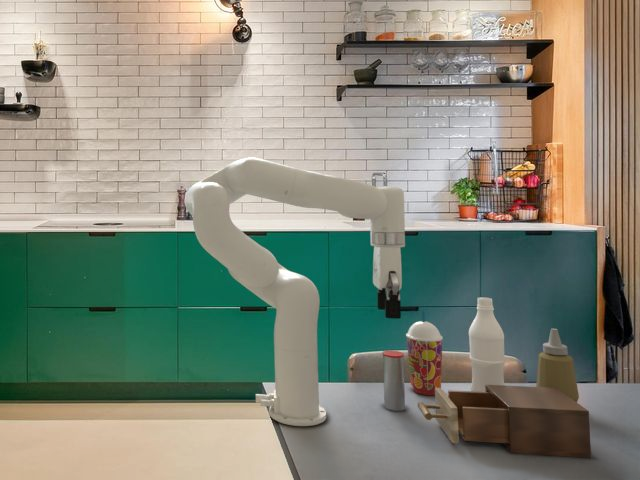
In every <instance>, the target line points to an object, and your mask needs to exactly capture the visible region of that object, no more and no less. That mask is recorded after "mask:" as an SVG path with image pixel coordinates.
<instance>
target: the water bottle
mask: <svg viewBox="0 0 640 480" xmlns="http://www.w3.org/2000/svg"><path fill="white" fill-rule="evenodd" d="M476 310H477V312H476V315H475V317H474V319H473V321H472V322H471V324H470V326H469V329H468V337H469V338H468V339H469V340H468V341H469V360H470V364H471V384H470V391H475V392H485V385H503V386H506V385H505V376H504V373H505V363H506V358H505V355H506V354H505V334H504V331H503V328H502V327H501V325H500V323H499V322H498V320H497V319H496V317H495V313H494V310H495V308H494V305H493V299H492V297H491V298H490V297H481V296H480V297H477V304H476Z"/></svg>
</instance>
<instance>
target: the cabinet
mask: <svg viewBox="0 0 640 480" xmlns="http://www.w3.org/2000/svg"><path fill="white" fill-rule="evenodd" d="M485 392H490V393H491V394H492V395H493V396H494V397H495V398H496V399H497V400H498V401H499V402H500V403H501V404H502V405H504V406H505V407H506V408H507V409H508V427H509V443H502V445H504V447H505V448H506V449H507V450H508V451H509V452H510V453H511V454H524V455H541V456H556V457H571V458H586V459H587V458H588V459H592V447H591V427H590V410H588V409H587V408H586V407H584V406H582V405H581V403H578V401H577V402H575V401H574V400H572V399H571V398H570V397H568V396H567V395H565V394H564V393H563V392H561V391H560V390H558V389H557V388H549V387H536V386H524V385H523V386H522V385H505V386H503V385H485Z"/></svg>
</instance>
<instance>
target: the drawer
mask: <svg viewBox="0 0 640 480" xmlns="http://www.w3.org/2000/svg"><path fill="white" fill-rule="evenodd" d="M447 393H448V395H447V394H446V393H445V392H444V390H443V388H442V387H441V388H435V395H434V400H435V401H434V404H425V403H424V402H421V401H420V402H418V403H417V407H418V409H419V411H420V412H421V414H422V415H423V417H424V418H425V420H427V421H431V420H432V419H435V420H436V422H437V423H438V424H439V426H440V428H441V429H442V431H443V432H444V433H445V435H446V436H447V438H448V439H449V440H450V442H451V444H460V439H459V438H460V437H459V435H460V436H461V437H462V439H463V440H464V441H465V442H479V443H495V444H503V443H509V427H508V409H507V408H506V407H505V406H504V405H502V404H501V403H500V402H499V401H498V400H497V399H496V398H495V397H494V396H493V395H492V394H491V393H490V392H475V391H471V390H451V389H448V390H447ZM429 409H431V410H435V413H431V412H430V410H429Z"/></svg>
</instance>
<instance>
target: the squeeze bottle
mask: <svg viewBox="0 0 640 480" xmlns="http://www.w3.org/2000/svg"><path fill="white" fill-rule="evenodd" d="M558 330H559V329H558V328H550V332H549V337H548V342H544V343H543V344H542V352H540V353H538V357H537V358H538V360H537V373H536V386H535V387H549V388H557V389H558V390H560V391H561V392H563V393H564V394H565V395H567V396H568V397H570V398H571V399H572V400H574V401H575V402H577V403H578V401H579V398H580V394H579V388H578V381H577V376H576V370H575V364H574V358H572V356H570V355H568V352H569V351H568V346H567V345H565V344H562V340H561V338H560V334H559V331H558Z"/></svg>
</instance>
